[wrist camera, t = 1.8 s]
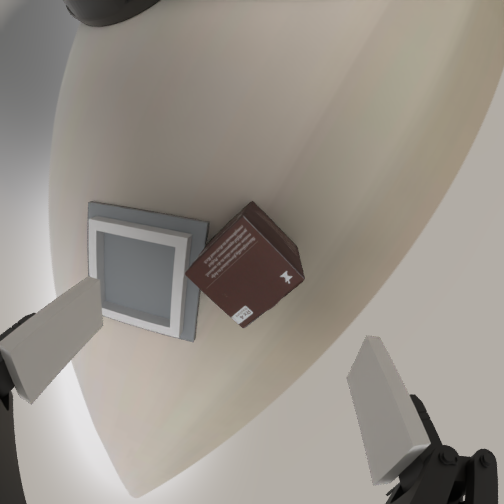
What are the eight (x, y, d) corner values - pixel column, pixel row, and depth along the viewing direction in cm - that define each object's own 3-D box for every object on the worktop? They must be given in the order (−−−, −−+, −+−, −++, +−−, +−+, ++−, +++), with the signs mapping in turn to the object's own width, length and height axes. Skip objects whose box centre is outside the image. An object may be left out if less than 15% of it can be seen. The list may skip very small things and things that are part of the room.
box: (253, 198, 24) (244, 212, 17) (299, 247, 25) (308, 279, 18) (205, 244, 26) (181, 274, 19) (250, 289, 27) (242, 331, 20)
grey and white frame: (91, 201, 25) (79, 204, 23) (209, 221, 25) (203, 226, 23) (93, 309, 30) (84, 317, 28) (194, 339, 29) (189, 350, 27)
